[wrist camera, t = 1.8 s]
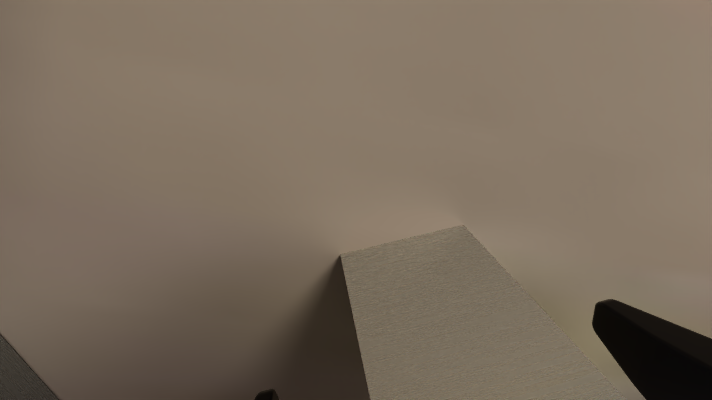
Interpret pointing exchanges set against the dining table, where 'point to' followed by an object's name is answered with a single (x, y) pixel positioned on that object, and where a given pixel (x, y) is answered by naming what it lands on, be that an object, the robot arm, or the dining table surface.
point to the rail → (19, 378)
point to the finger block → (458, 327)
